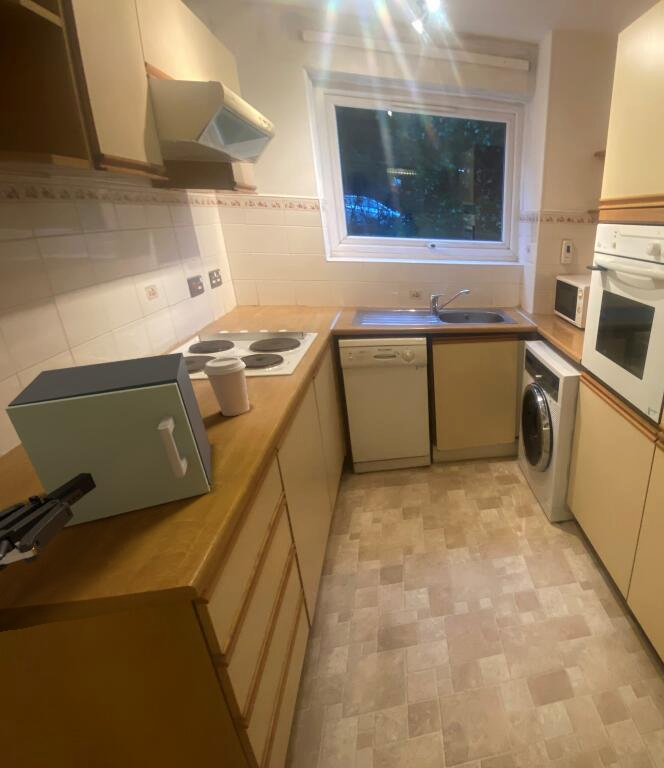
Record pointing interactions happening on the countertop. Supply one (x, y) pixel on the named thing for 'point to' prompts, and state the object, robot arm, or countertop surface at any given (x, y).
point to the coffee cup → (229, 384)
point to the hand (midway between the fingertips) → (88, 480)
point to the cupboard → (122, 387)
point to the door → (114, 448)
